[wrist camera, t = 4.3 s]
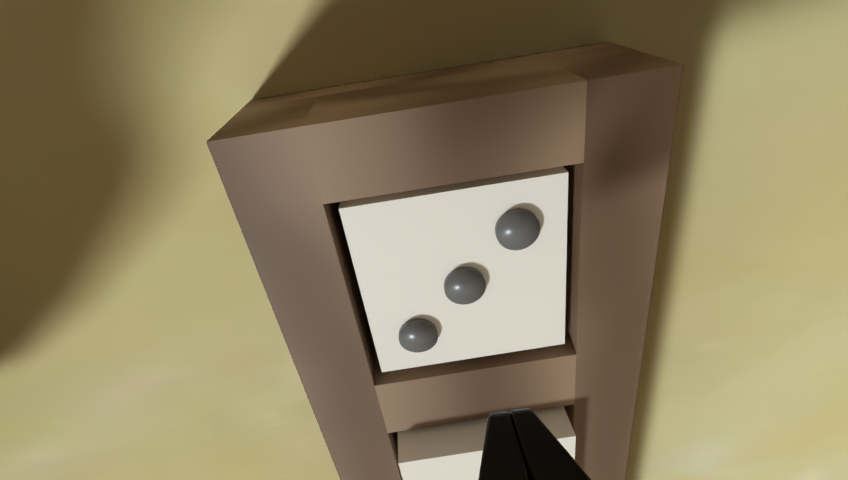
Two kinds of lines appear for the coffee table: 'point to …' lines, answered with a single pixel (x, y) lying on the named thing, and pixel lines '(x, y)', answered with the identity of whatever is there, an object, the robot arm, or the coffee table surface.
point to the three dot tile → (462, 267)
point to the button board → (447, 164)
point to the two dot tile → (463, 447)
